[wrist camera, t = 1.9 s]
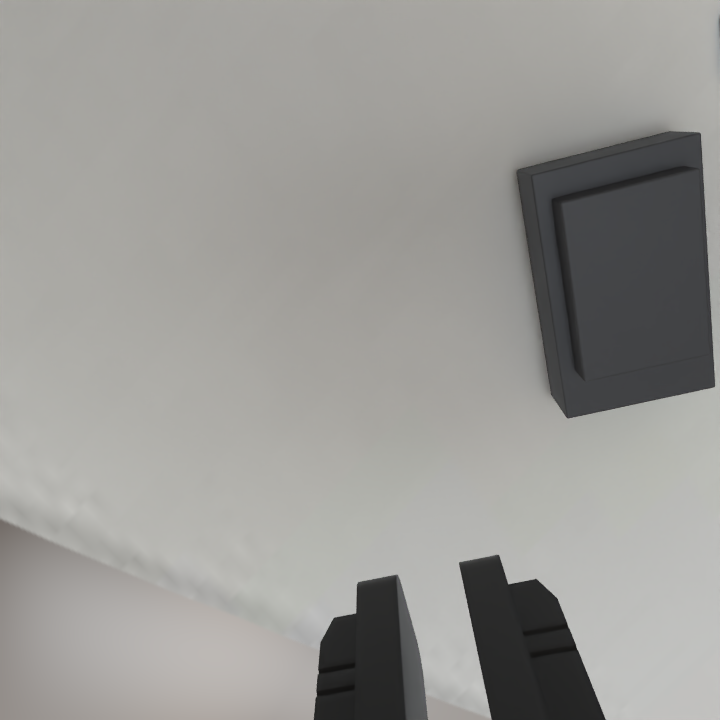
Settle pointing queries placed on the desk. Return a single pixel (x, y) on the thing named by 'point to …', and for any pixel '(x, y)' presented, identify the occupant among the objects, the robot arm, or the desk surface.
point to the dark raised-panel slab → (621, 272)
